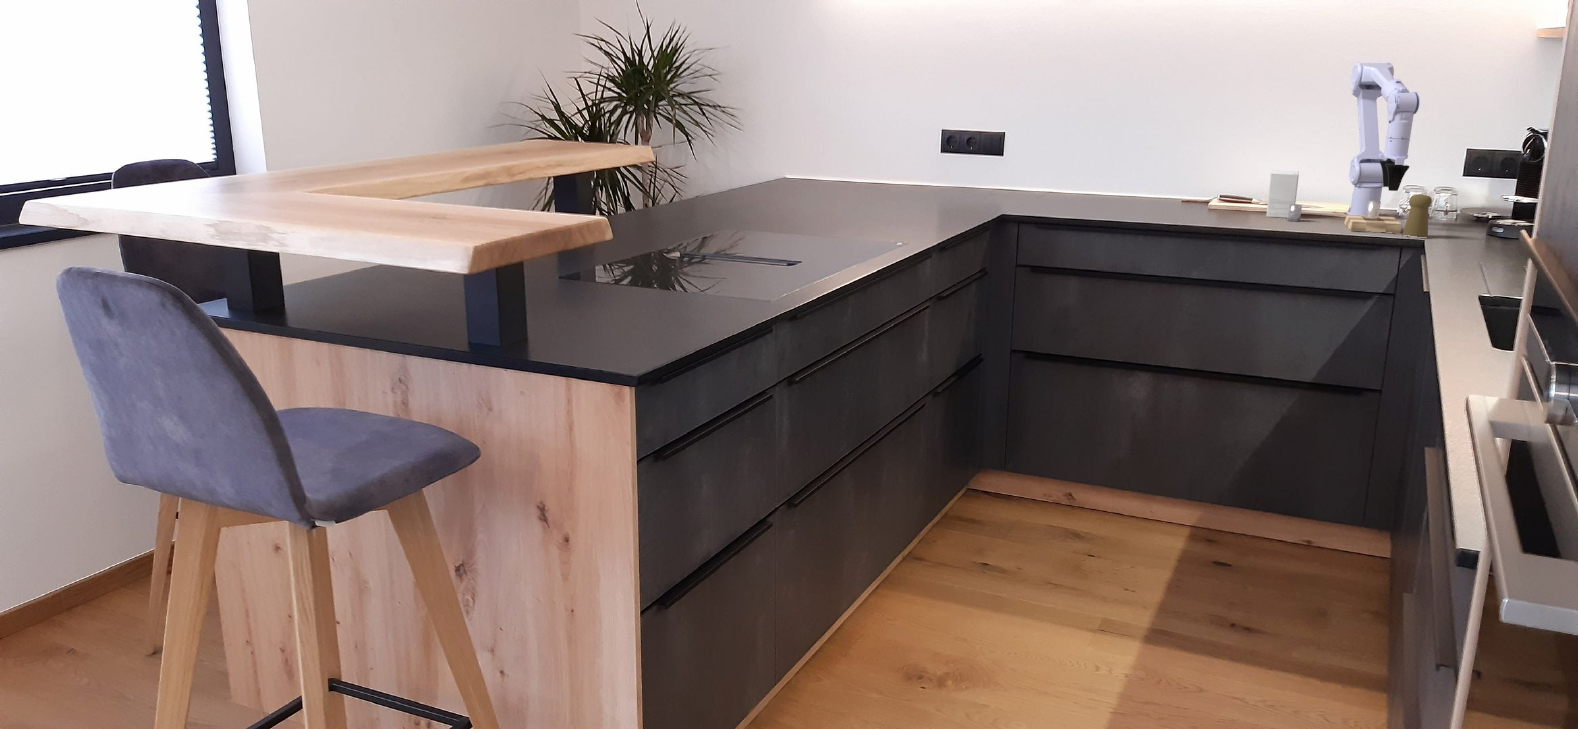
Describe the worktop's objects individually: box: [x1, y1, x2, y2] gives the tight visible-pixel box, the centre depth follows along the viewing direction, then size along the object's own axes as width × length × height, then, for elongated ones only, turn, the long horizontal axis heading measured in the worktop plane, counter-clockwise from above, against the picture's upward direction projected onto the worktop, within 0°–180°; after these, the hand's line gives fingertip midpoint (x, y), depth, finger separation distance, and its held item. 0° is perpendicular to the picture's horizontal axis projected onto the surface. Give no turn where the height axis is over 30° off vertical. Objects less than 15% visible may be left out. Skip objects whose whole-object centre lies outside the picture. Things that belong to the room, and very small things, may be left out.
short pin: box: [1287, 203, 1303, 223], centre depth 330 cm, size 3×3×4 cm
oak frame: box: [1344, 214, 1402, 234], centre depth 318 cm, size 12×12×3 cm
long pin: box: [1365, 200, 1382, 221], centre depth 318 cm, size 3×3×8 cm
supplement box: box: [1266, 169, 1300, 219], centre depth 337 cm, size 7×7×13 cm
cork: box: [1402, 193, 1433, 238], centre depth 306 cm, size 6×6×11 cm
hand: (1390, 188), depth 319 cm, fingers open, 7 cm apart
